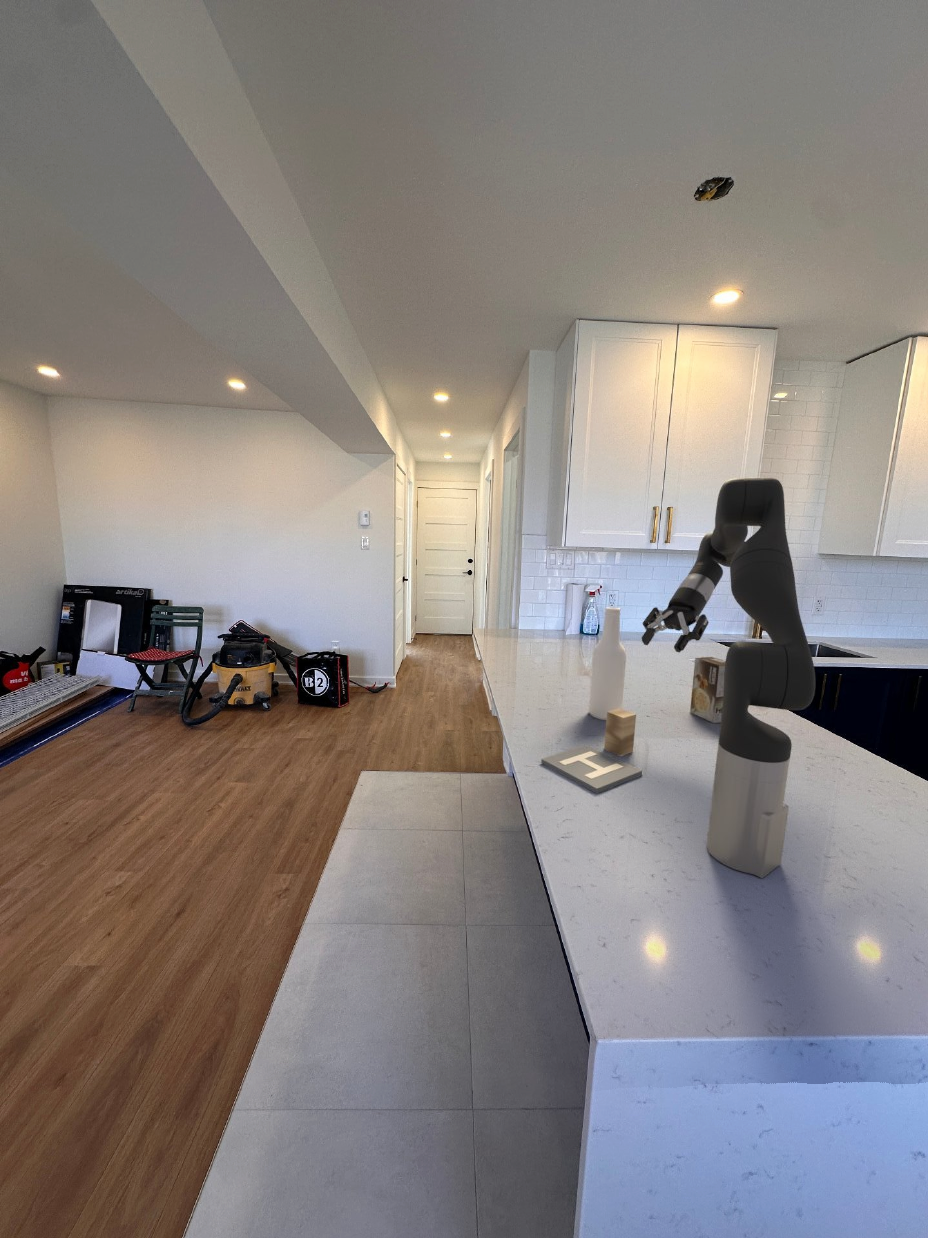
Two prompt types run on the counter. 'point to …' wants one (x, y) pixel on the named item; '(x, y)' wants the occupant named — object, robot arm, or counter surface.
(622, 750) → the oak block
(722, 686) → the coffee box
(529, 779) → the counter surface
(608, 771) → the letter board
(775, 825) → the robot arm
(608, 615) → the alcohol
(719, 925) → the counter surface
